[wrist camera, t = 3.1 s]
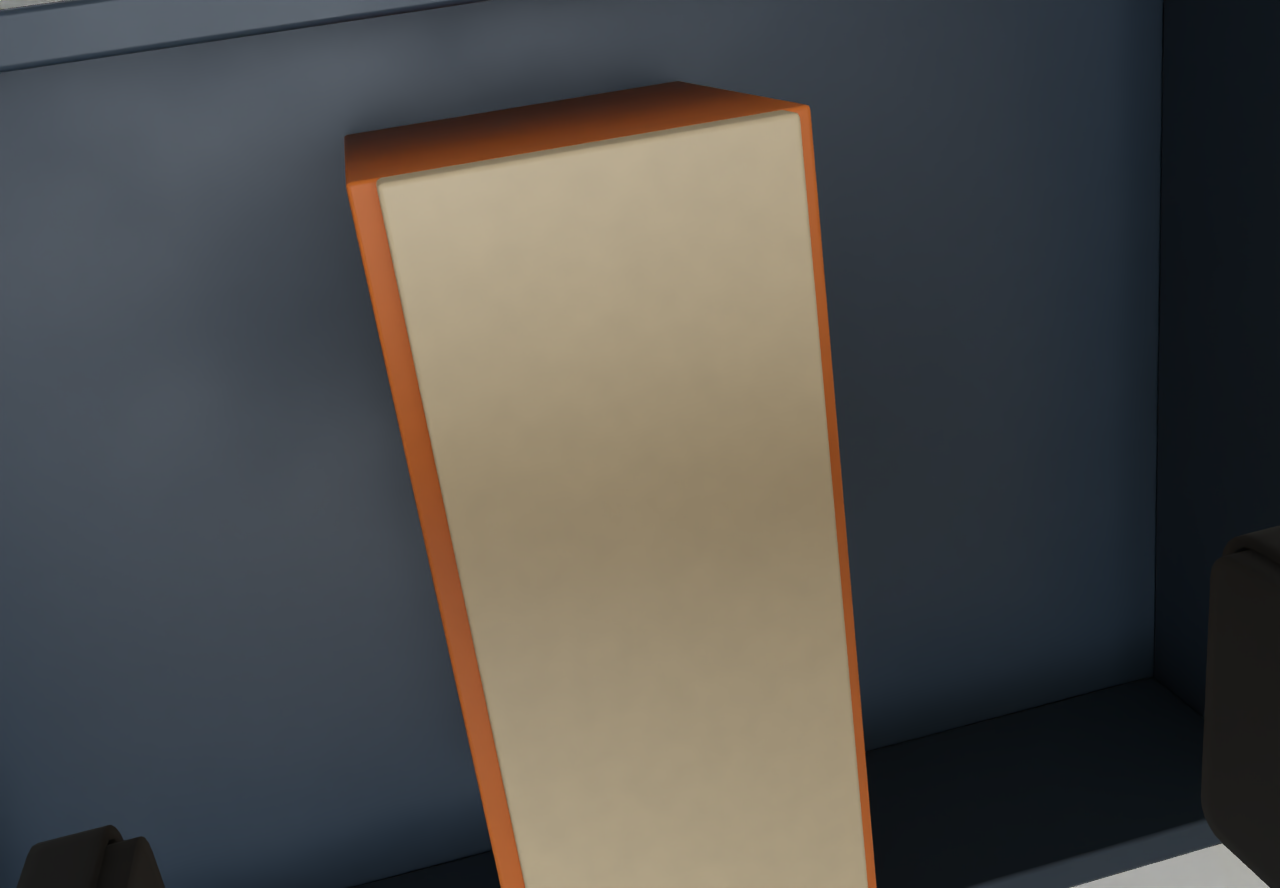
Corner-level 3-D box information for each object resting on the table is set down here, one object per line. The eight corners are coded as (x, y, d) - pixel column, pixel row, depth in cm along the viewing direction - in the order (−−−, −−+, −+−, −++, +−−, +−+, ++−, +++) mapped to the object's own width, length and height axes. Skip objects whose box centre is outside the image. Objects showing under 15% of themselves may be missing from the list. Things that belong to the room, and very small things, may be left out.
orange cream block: (681, 79, 18) (828, 106, 13) (756, 708, 22) (895, 936, 17) (342, 134, 17) (345, 189, 12) (483, 777, 21) (533, 1042, 16)
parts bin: (1186, -145, 19) (1405, -187, 15) (1170, 686, 25) (1329, 814, 21) (-376, 76, 16) (-620, 95, 12) (7, 995, 21) (-72, 1223, 17)
